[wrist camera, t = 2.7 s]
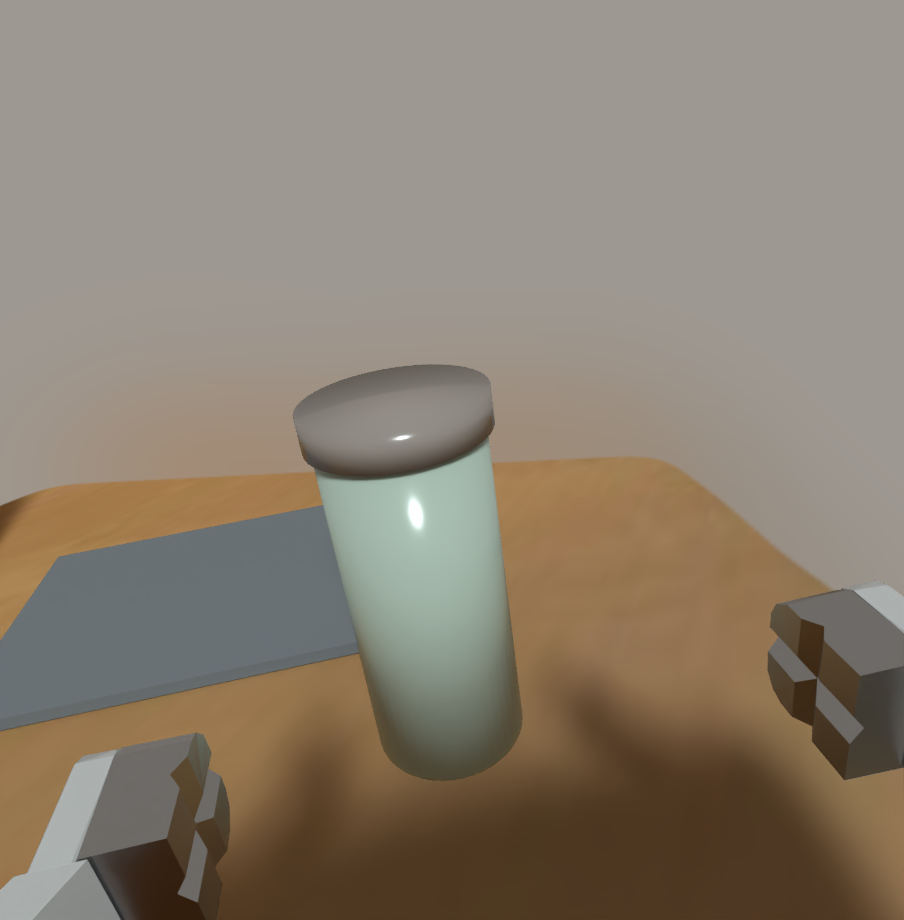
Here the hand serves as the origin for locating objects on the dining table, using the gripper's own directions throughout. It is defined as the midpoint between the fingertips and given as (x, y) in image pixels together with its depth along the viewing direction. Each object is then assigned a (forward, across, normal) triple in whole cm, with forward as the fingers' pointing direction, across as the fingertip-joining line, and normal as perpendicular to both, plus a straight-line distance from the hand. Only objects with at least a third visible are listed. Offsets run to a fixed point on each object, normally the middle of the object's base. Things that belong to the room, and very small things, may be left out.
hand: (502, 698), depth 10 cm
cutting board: (+24, -12, -13) cm, 30 cm away
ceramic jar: (+12, -1, -13) cm, 18 cm away
